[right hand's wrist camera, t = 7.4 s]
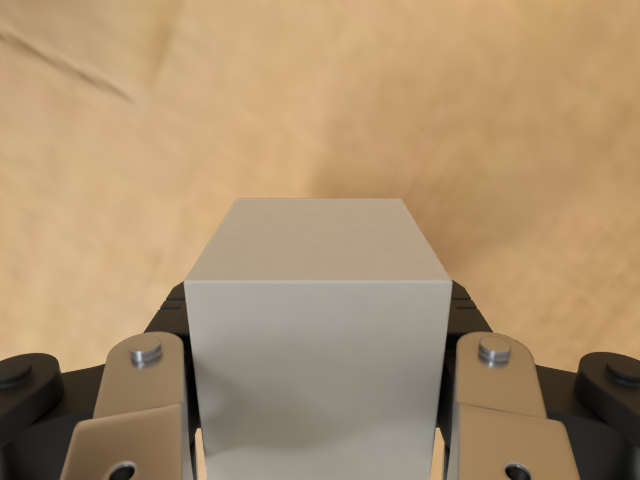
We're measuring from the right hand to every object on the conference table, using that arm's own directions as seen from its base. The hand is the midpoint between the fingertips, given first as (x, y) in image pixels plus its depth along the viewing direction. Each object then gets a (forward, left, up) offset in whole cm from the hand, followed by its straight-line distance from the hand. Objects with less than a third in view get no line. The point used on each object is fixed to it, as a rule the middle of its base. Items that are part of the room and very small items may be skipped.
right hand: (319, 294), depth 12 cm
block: (0, 0, -1) cm, 1 cm away
